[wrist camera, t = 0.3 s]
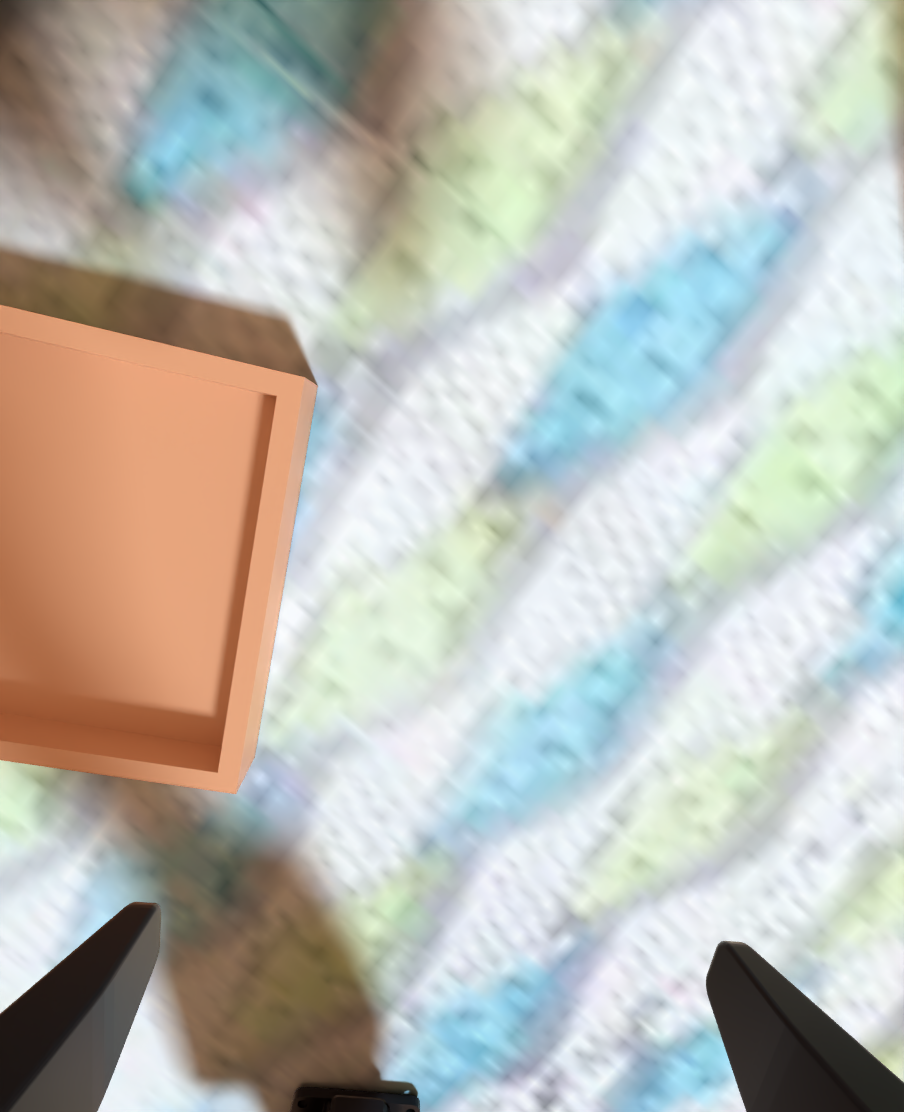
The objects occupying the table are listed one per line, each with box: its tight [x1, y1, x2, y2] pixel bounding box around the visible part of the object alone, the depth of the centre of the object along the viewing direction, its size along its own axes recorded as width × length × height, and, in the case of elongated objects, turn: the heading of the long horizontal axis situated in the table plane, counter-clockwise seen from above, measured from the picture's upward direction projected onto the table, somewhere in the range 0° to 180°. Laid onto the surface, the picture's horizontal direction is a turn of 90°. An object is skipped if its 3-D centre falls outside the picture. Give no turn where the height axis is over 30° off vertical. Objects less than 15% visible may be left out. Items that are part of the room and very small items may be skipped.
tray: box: [0, 305, 318, 794], centre depth 19 cm, size 16×16×2 cm
